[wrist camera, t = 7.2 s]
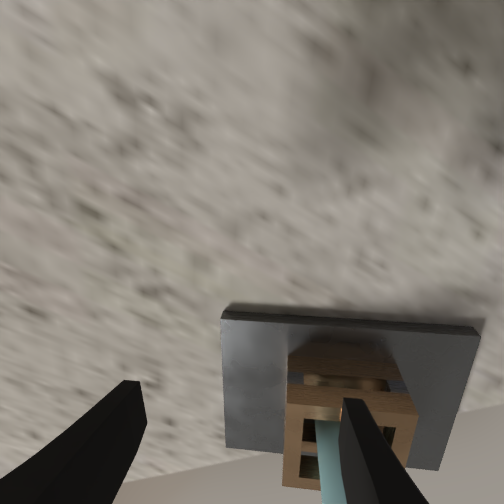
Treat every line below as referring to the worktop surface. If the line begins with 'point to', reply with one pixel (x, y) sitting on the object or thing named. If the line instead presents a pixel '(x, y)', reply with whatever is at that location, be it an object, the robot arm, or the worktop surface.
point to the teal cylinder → (329, 462)
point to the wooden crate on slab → (340, 384)
